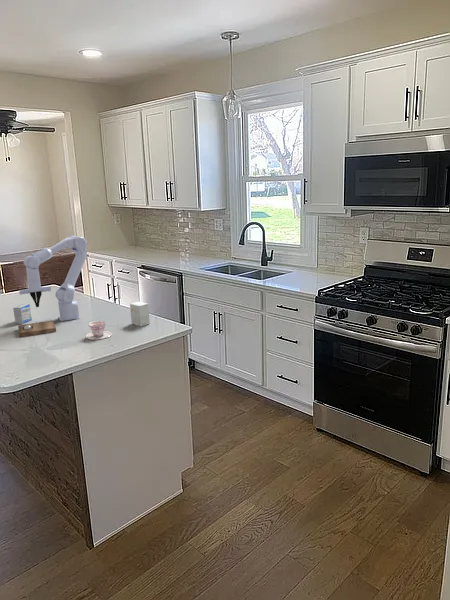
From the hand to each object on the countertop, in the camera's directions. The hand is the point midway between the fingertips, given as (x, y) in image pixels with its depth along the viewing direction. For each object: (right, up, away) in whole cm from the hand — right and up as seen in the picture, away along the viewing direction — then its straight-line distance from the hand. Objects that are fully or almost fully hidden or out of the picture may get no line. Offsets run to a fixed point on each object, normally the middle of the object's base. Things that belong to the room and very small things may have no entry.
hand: (37, 306), depth 232 cm
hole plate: (+3, -11, -7) cm, 14 cm away
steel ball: (-1, -10, -10) cm, 14 cm away
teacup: (+36, -14, -18) cm, 42 cm away
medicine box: (-10, -8, +8) cm, 16 cm away
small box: (+52, -9, -1) cm, 53 cm away
